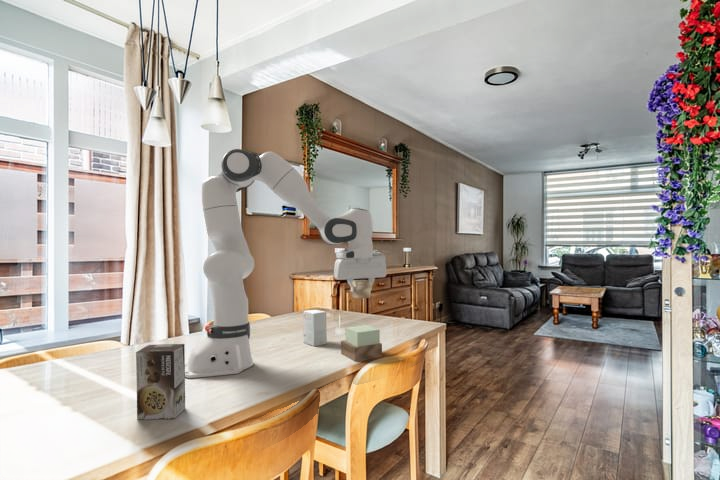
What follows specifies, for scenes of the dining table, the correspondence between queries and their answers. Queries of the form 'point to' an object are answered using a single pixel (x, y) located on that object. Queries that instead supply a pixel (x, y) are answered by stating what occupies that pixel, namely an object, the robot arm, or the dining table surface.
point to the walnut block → (361, 351)
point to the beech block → (362, 289)
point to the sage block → (362, 335)
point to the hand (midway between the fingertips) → (361, 290)
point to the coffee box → (160, 381)
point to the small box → (314, 327)
